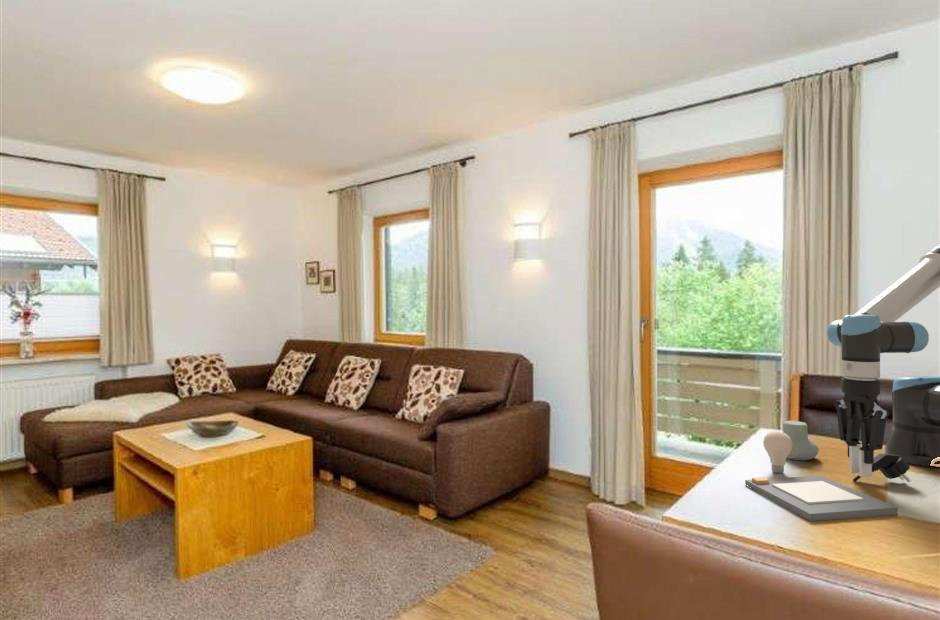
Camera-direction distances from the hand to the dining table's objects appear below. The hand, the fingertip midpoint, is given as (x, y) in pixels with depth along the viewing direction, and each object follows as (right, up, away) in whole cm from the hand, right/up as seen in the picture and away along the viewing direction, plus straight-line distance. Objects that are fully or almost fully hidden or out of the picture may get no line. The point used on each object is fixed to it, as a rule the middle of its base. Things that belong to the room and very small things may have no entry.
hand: (860, 474), depth 126 cm
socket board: (-18, -2, -10) cm, 21 cm away
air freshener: (-3, -2, +20) cm, 20 cm away
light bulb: (-16, -2, +7) cm, 18 cm away
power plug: (0, -4, 0) cm, 4 cm away
